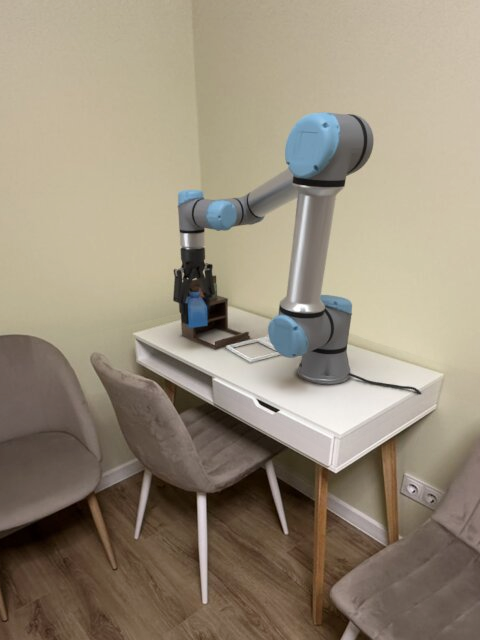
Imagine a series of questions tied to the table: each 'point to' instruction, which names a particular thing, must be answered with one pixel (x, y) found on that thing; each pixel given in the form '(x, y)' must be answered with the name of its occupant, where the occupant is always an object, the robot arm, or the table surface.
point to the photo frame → (262, 340)
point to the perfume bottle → (196, 309)
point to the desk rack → (214, 321)
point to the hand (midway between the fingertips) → (195, 320)
